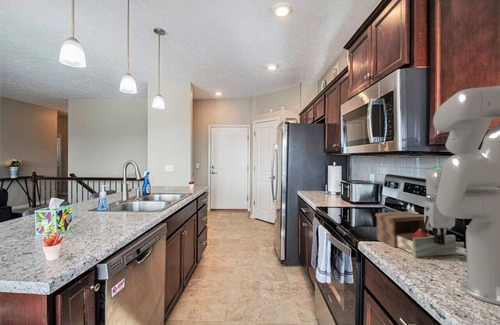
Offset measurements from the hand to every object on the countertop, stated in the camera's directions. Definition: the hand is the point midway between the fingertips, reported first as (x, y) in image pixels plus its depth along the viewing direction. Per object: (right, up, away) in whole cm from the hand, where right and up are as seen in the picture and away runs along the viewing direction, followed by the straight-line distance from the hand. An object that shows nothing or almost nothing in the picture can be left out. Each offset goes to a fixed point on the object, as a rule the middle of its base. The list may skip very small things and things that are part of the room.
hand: (439, 243), depth 97 cm
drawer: (-1, -5, +9) cm, 10 cm away
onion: (-1, -5, +9) cm, 10 cm away
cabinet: (-2, -6, +20) cm, 21 cm away
